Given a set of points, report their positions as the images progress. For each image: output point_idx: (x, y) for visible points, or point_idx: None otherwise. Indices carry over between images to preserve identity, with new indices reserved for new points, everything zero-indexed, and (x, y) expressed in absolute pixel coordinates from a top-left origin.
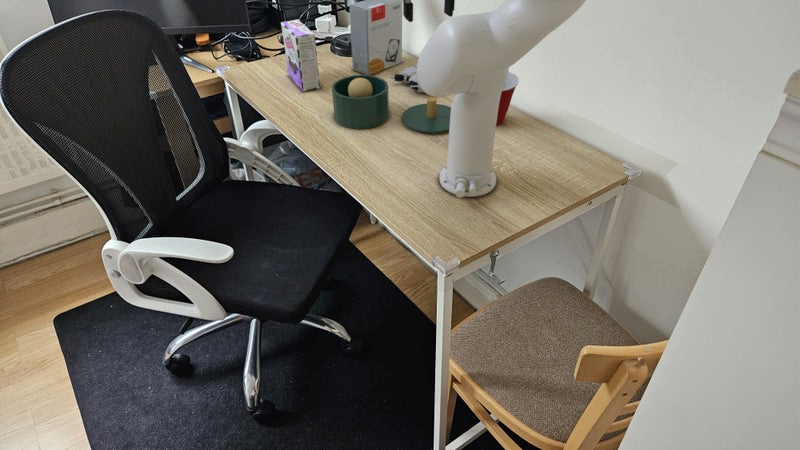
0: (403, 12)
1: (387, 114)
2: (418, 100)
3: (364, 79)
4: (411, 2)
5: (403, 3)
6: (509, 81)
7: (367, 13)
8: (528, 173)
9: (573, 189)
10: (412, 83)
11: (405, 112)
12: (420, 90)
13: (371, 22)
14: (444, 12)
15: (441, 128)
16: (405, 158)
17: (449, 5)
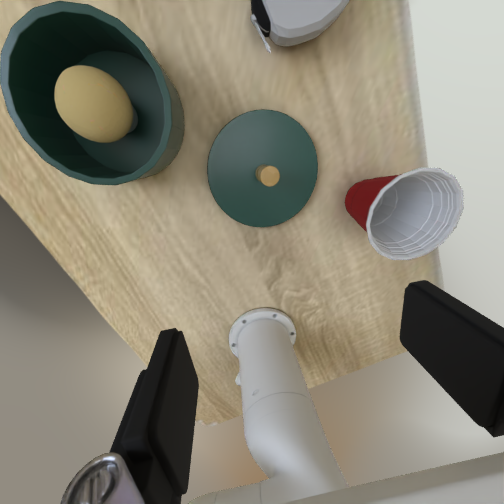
0: (137, 384)
1: (178, 148)
2: (261, 69)
3: (95, 102)
4: (173, 497)
5: (114, 448)
6: (441, 200)
7: None
8: (335, 329)
9: (362, 358)
10: (258, 13)
11: (218, 143)
12: (273, 41)
13: None
14: (406, 291)
15: (268, 220)
16: (195, 280)
17: (443, 382)
